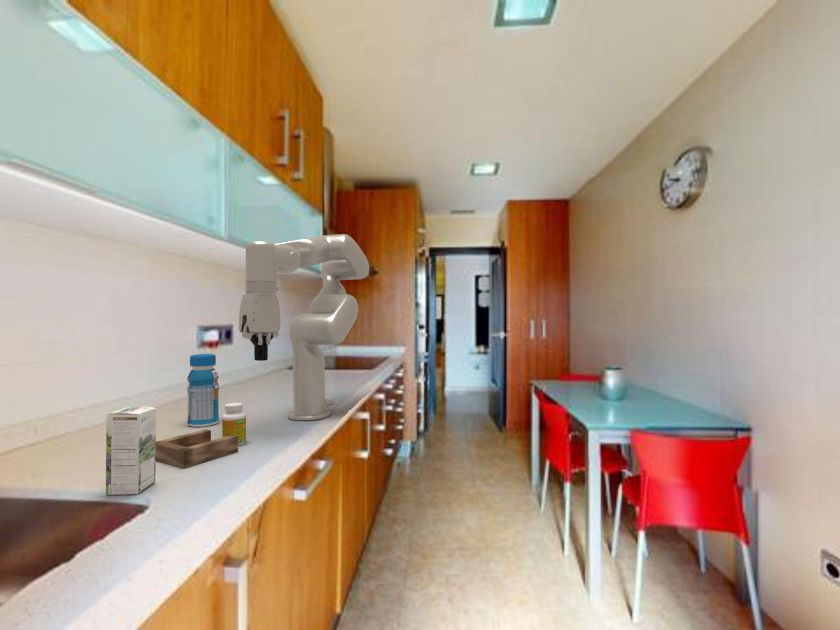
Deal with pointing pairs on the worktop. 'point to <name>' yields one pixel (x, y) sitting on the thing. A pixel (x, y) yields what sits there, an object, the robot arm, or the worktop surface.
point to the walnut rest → (194, 448)
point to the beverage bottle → (203, 391)
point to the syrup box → (130, 450)
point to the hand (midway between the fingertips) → (261, 360)
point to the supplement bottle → (234, 422)
